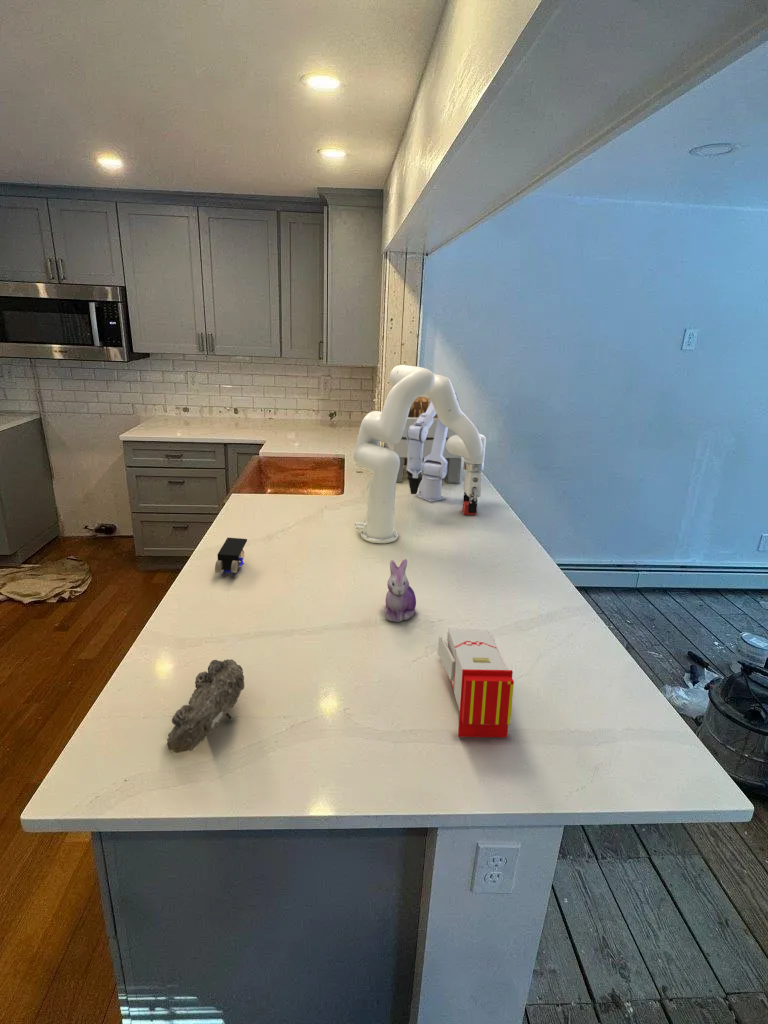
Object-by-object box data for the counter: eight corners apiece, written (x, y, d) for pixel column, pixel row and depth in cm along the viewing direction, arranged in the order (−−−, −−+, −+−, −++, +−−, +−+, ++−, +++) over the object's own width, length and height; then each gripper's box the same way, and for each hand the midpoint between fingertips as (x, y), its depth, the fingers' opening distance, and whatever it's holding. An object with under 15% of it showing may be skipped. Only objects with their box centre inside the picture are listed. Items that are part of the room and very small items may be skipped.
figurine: (392, 627, 141) (395, 572, 136) (374, 608, 149) (376, 556, 144) (425, 619, 145) (429, 566, 140) (405, 601, 154) (408, 550, 149)
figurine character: (238, 584, 162) (249, 557, 175) (236, 562, 158) (247, 536, 172) (215, 584, 161) (227, 556, 175) (212, 561, 158) (225, 535, 171)
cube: (475, 515, 222) (476, 505, 220) (464, 514, 221) (465, 504, 220) (473, 511, 226) (474, 501, 224) (462, 511, 226) (462, 501, 224)
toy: (488, 613, 130) (523, 677, 101) (484, 667, 133) (517, 744, 104) (435, 612, 130) (455, 676, 101) (432, 666, 133) (451, 743, 103)
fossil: (192, 660, 117) (244, 628, 112) (224, 691, 120) (276, 661, 115) (142, 746, 98) (202, 712, 93) (182, 779, 101) (242, 748, 96)
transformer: (382, 463, 289) (386, 382, 275) (445, 464, 293) (451, 384, 279) (390, 482, 257) (394, 392, 243) (460, 483, 261) (468, 394, 247)
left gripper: (488, 473, 209) (484, 516, 215) (478, 460, 226) (474, 501, 232) (468, 472, 209) (464, 516, 215) (459, 460, 225) (456, 501, 231)
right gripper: (427, 462, 209) (424, 497, 214) (424, 452, 223) (421, 485, 228) (408, 461, 209) (406, 496, 214) (406, 452, 223) (404, 485, 227)
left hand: (469, 508), depth 223 cm, fingers open, 9 cm apart
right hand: (413, 490), depth 221 cm, fingers open, 7 cm apart
